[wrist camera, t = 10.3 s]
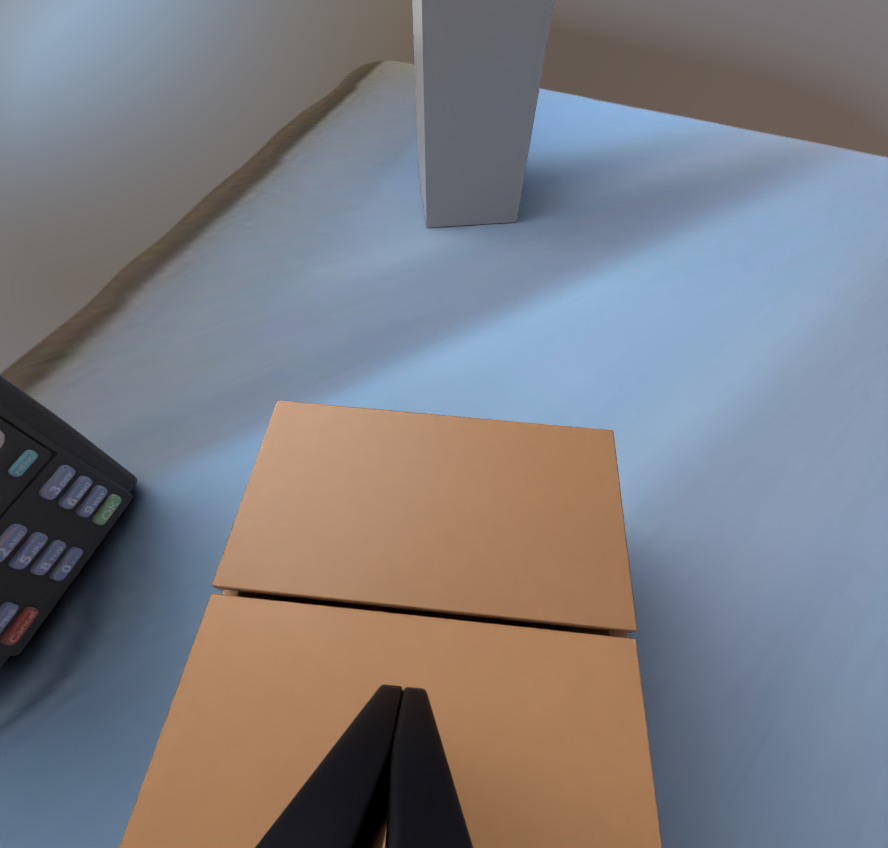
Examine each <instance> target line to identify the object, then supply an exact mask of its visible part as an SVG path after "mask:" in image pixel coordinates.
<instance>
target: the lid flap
mask: <svg viewBox="0 0 888 848" xmlns="http://www.w3.org/2000/svg"><path fill="white" fill-rule="evenodd" d="M383 684H388V685H397V686H401V687H402V688H403V690H404V689H405V688H406V687H414V688H423V689H425V690H426V692H427V694H428V697H429V701H430V704H431V707H432V711H433V714H434V717H435V721H436V724H437V727H438V731H439V734H440V737H441V741H442V744H443V747H444V751H445V754H446V758H447V761H448V764H449V768H450V771H451V774H452V778H453V781H454V784H455V788H456V791H457V794H458V798H459V801H460V804H461V808H462V811H463V815H464V818H465V821H466V825H467V828H468V831H469V835H470V838H471V841H472V845H473V848H662V843H661V835H660V827H659V819H658V811H657V803H656V795H655V787H654V779H653V771H652V763H651V755H650V747H649V740H648V732H647V724H646V716H645V708H644V700H643V692H642V684H641V676H640V668H639V660H638V652H637V644H636V640H635V639H632V638H622V637H613V636H604V635H594V634H585V633H576V632H566V631H557V630H548V629H538V628H529V627H519V626H510V625H501V624H491V623H482V622H473V621H463V620H454V619H445V618H435V617H426V616H416V615H407V614H398V613H388V612H379V611H370V610H360V609H351V608H342V607H332V606H323V605H313V604H304V603H295V602H285V601H276V600H267V599H257V598H248V597H239V596H229V595H220V594H212V595H211V597H210V599H209V602H208V605H207V608H206V610H205V613H204V616H203V619H202V621H201V624H200V627H199V630H198V632H197V635H196V638H195V641H194V643H193V646H192V649H191V652H190V654H189V657H188V660H187V663H186V665H185V668H184V671H183V674H182V676H181V679H180V682H179V685H178V687H177V690H176V693H175V696H174V698H173V701H172V704H171V707H170V709H169V712H168V715H167V718H166V720H165V723H164V726H163V729H162V731H161V734H160V737H159V740H158V742H157V745H156V748H155V751H154V753H153V756H152V759H151V762H150V764H149V767H148V770H147V773H146V776H145V778H144V781H143V784H142V787H141V789H140V792H139V795H138V798H137V800H136V803H135V806H134V809H133V811H132V814H131V817H130V820H129V822H128V825H127V828H126V831H125V833H124V836H123V839H122V842H121V844H120V847H119V848H255V847H256V845H257V844H258V843H259V842H260V840H261V839H262V838H263V836H264V835H265V834H266V832H267V831H268V830H269V829H270V827H271V826H272V825H273V823H274V822H275V821H276V820H277V818H278V817H279V816H280V814H281V813H282V812H283V811H284V809H285V808H286V807H287V805H288V804H289V803H290V802H291V800H292V799H293V798H294V796H295V795H296V794H297V792H298V791H299V790H300V789H301V787H302V786H303V785H304V783H305V782H306V781H307V780H308V778H309V777H310V776H311V774H312V773H313V772H314V771H315V769H316V768H317V767H318V765H319V764H320V763H321V762H322V760H323V759H324V758H325V756H326V755H327V754H328V752H329V751H330V750H331V749H332V747H333V746H334V745H335V743H336V742H337V741H338V740H339V738H340V737H341V736H342V734H343V733H344V732H345V731H346V729H347V728H348V727H349V725H350V724H351V723H352V722H353V720H354V719H355V718H356V716H357V715H358V714H359V712H360V711H361V710H362V709H363V707H364V706H365V705H366V703H367V702H368V701H369V700H370V698H371V697H372V696H373V694H374V693H375V692H376V691H377V689H378V688H379V687H380V686H381V685H383ZM385 841H386V832H385V838H384V842H383V847H382V848H385Z"/></svg>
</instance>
